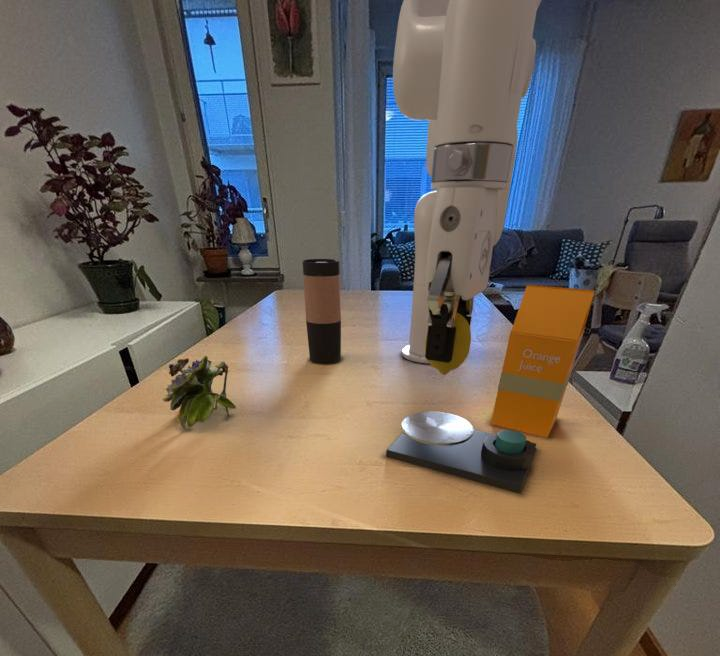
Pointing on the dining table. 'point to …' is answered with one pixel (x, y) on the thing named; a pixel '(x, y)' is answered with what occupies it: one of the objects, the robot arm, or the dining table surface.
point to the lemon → (456, 346)
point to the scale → (469, 459)
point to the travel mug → (323, 309)
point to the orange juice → (540, 357)
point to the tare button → (510, 441)
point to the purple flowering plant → (196, 390)
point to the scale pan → (437, 428)
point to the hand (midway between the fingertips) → (446, 352)
